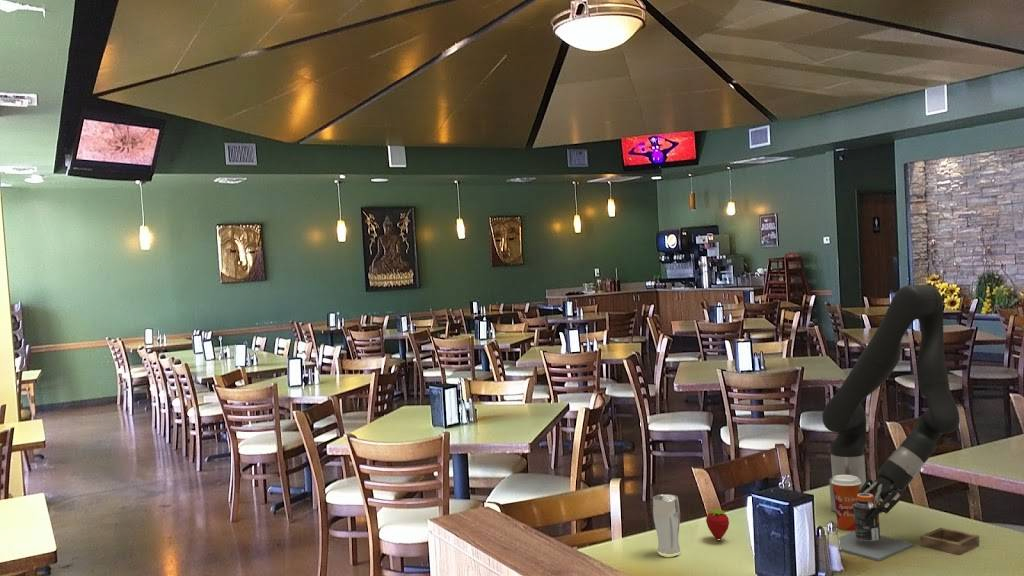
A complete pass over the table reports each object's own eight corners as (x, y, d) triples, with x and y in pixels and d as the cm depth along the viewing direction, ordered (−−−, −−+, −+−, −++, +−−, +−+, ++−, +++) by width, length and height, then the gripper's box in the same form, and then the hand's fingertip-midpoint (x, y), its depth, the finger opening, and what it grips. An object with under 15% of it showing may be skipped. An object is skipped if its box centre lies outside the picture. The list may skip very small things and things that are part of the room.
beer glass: (684, 550, 219) (680, 494, 219) (680, 559, 212) (676, 501, 212) (658, 548, 221) (654, 493, 221) (653, 557, 214) (650, 500, 214)
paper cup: (833, 530, 226) (830, 480, 226) (834, 522, 233) (831, 473, 233) (864, 532, 223) (861, 481, 223) (864, 523, 230) (860, 474, 230)
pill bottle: (884, 540, 209) (881, 496, 209) (861, 542, 210) (858, 498, 209) (874, 533, 215) (871, 490, 215) (851, 534, 215) (849, 492, 215)
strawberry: (723, 535, 229) (721, 499, 228) (734, 543, 221) (732, 506, 221) (703, 537, 228) (701, 501, 228) (713, 546, 220) (711, 509, 220)
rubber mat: (822, 546, 215) (822, 543, 215) (857, 532, 224) (857, 529, 224) (878, 561, 201) (878, 558, 201) (914, 545, 210) (914, 543, 210)
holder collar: (920, 545, 210) (920, 536, 210) (941, 536, 215) (940, 527, 215) (959, 554, 202) (958, 544, 202) (979, 545, 207) (978, 535, 207)
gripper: (876, 453, 220) (836, 501, 219) (905, 465, 206) (863, 516, 205) (896, 471, 220) (856, 518, 220) (927, 484, 206) (885, 535, 205)
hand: (860, 517), depth 212 cm, fingers closed on pill bottle, 6 cm apart
